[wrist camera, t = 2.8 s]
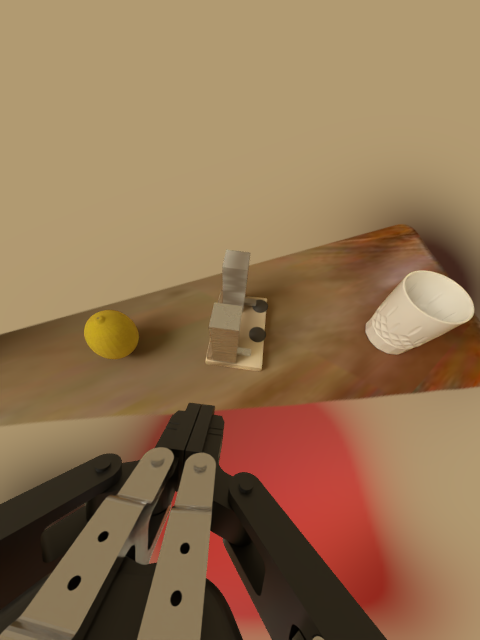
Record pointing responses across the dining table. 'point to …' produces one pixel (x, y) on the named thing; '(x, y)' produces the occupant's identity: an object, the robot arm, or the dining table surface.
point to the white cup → (418, 312)
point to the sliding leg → (226, 333)
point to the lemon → (111, 334)
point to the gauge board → (243, 312)
